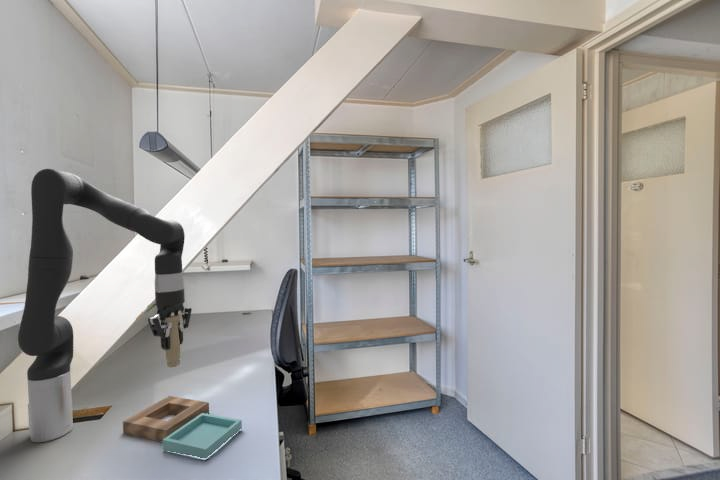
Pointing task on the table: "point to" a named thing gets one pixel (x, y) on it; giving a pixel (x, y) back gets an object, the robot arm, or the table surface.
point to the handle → (173, 342)
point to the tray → (202, 435)
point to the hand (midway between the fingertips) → (172, 346)
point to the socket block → (149, 418)
